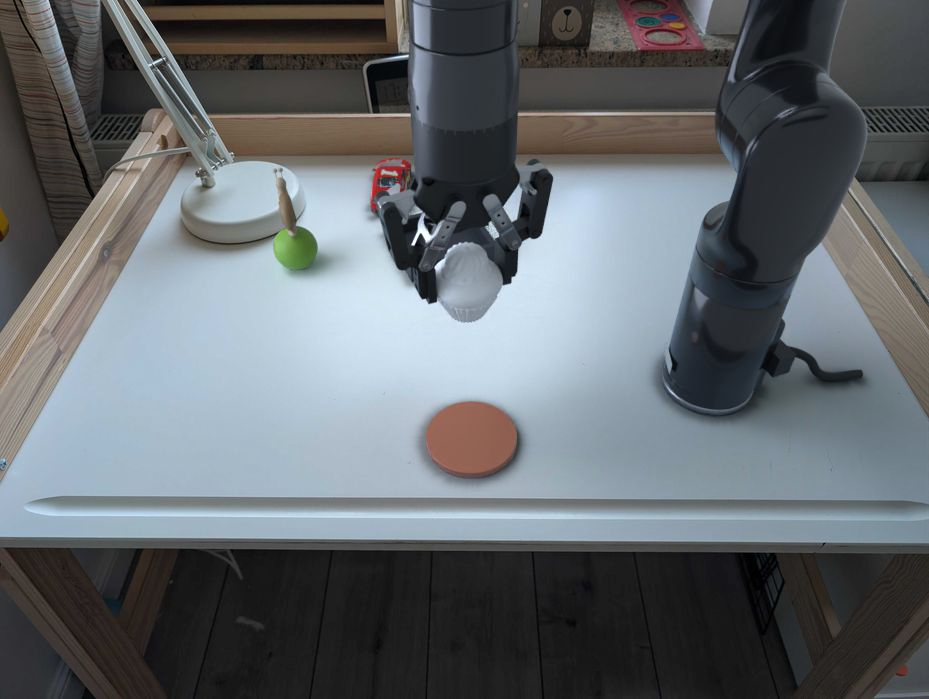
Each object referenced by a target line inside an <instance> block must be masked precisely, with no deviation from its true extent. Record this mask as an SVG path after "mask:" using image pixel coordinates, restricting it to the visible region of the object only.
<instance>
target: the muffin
mask: <svg viewBox="0 0 929 699" xmlns="http://www.w3.org/2000/svg"><path fill="white" fill-rule="evenodd" d="M434 268H435V269H436V287H437V302H438V303H439V304H440V305H441V307H442V308H443V309H444V310H445V311H446V313H447V314H448V315H449V316H450V317H451V319H454V321H457V322H460V323H463V324H465V323H467V324H469V323H475V322H476V321H479V320H481V319H482V318H483V317H484V316H485V315H486V314H487V312H488V311H489V309H491V307H492V306H493V304H494V303H495V301H496V300H498V299H497V298H498V295H499V294H500V292H501V290H502V288H503V277H502V273H501V271H500V269H499V267H498V266H497V265H496V264H495V263H494V262H492V261H491V260H489V258H488V257H487V253H486V251H485V250H484V249H483V248H482V247H481V246H480V245H478V244H474V243H473V242H471V243H468V242H465V243H459V244H458V245H453V246H452V248H450V249H448V251H447V254H446V255H445V258H444V259H443V260H441V261H440V262H439V263H438V264H437V265H436V266H435V267H434Z"/></svg>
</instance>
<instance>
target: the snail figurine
mask: <svg viewBox="0 0 929 699" xmlns="http://www.w3.org/2000/svg"><path fill="white" fill-rule="evenodd" d="M283 171H284V169H283V167H278V168H273V169H272V173H274V175H275V178H276V180H275V181H274V183H275V187H276V189H277V196H278V210H279V214H280V218H281V222H282V224H283V226H284V228H283V229H281V230H280V231H279V232H278V233H277V234H276V236H275V237H274V240H273V245H272V250H273V254H274V256H275V259H276V260H277V262H278V263H279V264H280V265H282V266H283V267H285V268H287V269H289V270H294V271H295V270H296V271H297V270H303V269H305V268H307V267H309V266H310V265H312V264H313V262H314V261H315V260H316V257H317V255H318V251H319V246H318V245H319V244H318V242H317V239H316V237H315V235H314V234H313V233H312V232H311V231H310V230H309V229H308V228H306V227H304V226H300V225H297V222H298V219H297V216H296V213H295V212H296V211H295V209H294V206H293V202H292V198H291V196H290V194H289V192H288V189H287V182H286V180H285V179H284V178H283V174H282V172H283ZM278 172H279V173H280V175H281V176H279V177H278V176H277V173H278Z"/></svg>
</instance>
